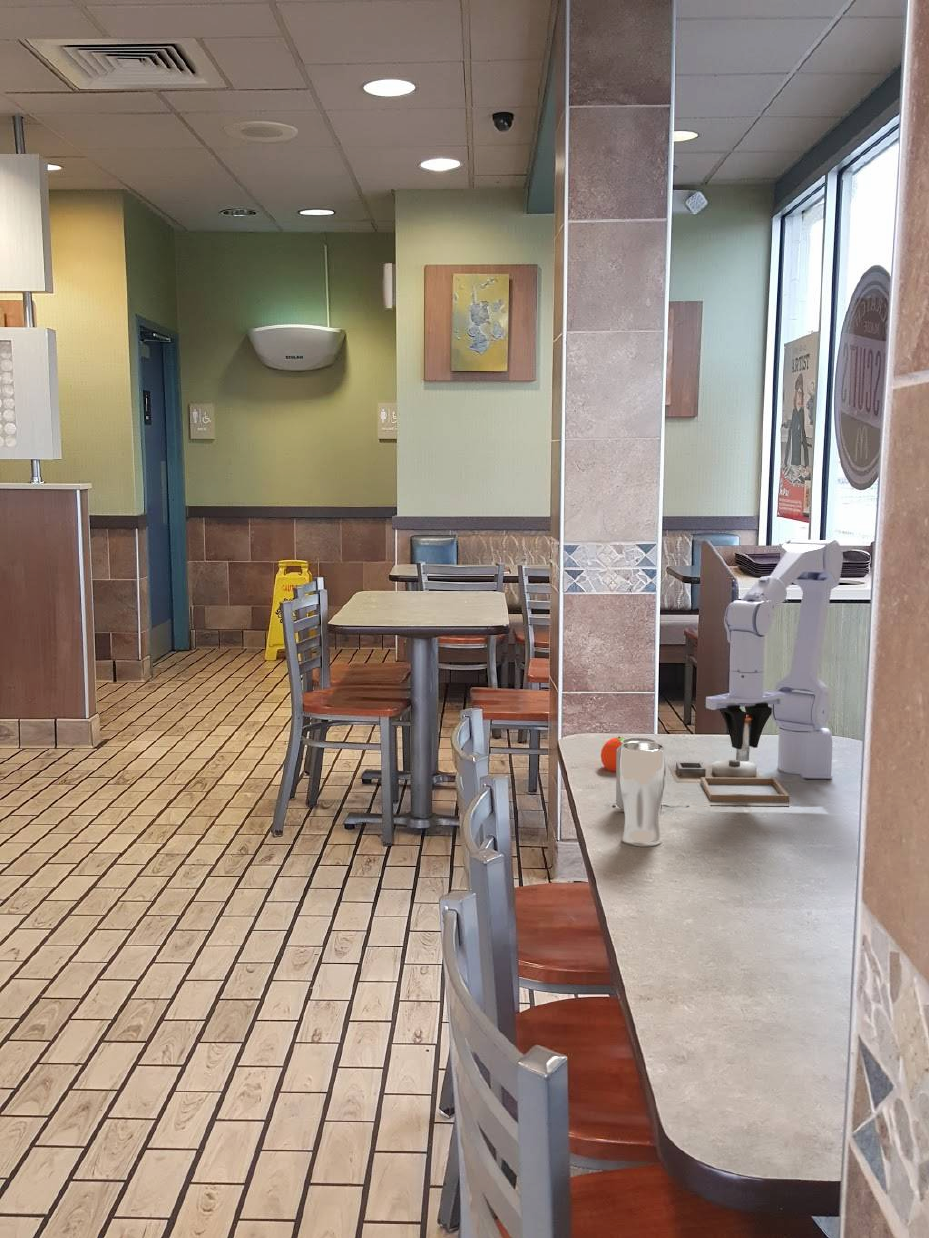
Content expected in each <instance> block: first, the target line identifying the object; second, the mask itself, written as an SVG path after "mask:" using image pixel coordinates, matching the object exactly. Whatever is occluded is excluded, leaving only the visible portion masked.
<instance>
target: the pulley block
mask: <svg viewBox="0 0 929 1238" xmlns="http://www.w3.org/2000/svg"><path fill="white" fill-rule="evenodd" d="M667 767H668V769H669V771H670V773H671V775H672V777H673V780H674V782H675V783H701V777H720V778H763V777H762V776H761V775H760V773H759V772H758V768H757V765H756V764H755V763H753V762H750V761H738V760H736V759H722V760H717V761H713V762H712V763H711V764H707V765H706V764H703V762H702V761H700V762H699V761H676V762H675V764H667Z"/></svg>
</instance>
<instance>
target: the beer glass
mask: <svg viewBox="0 0 929 1238" xmlns="http://www.w3.org/2000/svg"><path fill="white" fill-rule="evenodd" d="M665 785H666V754H665V745H664V744H662V743H659V742H658V743H656V742H650V741H631V742H626V743H623V744H622V745H621V757H620V786H621V793H622V799H623V805H624V811H625V813H624V824H623V825H624V826H623V831H622V835H621V840H622V842H623V843H625V844H626V845H629V846H633V847H641V848H643V847H645V848H646V847H655V846H657V845H658V846H659V845H660V844H661V843H662V840H663V839H662V835H661V834H662V832H661V826H660V825H661V824H660V815H661V808H662V803H663V802H662V801H663V797H664V791H665Z"/></svg>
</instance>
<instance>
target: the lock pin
mask: <svg viewBox="0 0 929 1238" xmlns="http://www.w3.org/2000/svg"><path fill="white" fill-rule="evenodd" d="M753 718H754V716H752V715H748V714H747V715H746V718H745V722H744V727H743V743H742V749H736V751H735V753H736V754H735V760H738V761H747V762H750V761H749V760H750V748H751V746H750V736H751V721H753Z"/></svg>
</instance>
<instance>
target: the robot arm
mask: <svg viewBox="0 0 929 1238" xmlns="http://www.w3.org/2000/svg"><path fill="white" fill-rule="evenodd" d="M779 556H780V557H779V559H780V560H779V562H778V563H777V564H776V566H775V567H774V569H773V571H772V572H771V573H770V575H765V576H761V577H759V578H758V580H757V581H756V582H755V583H754V585H753V586H752V587H751V588H750V589H749V590H748V591H747V593H745V595H744V596H743V597H742V598H741V599H740V600H739V599H738V600H733V602H730V603H729V604H728V606H727V607H726V610H725V612H724V613H725V614H724V617H723V625H724V628H725V630H726V639H727V643H729V644H730V645H729V684H728V692H727V693H723V694H718V695H713V696H711V695H710V696H706V697H705V708H706V709H708V710H712V711H714V710H715V711H716V710H717V709H719V712H720V714H721V716H722V718H723V720H724V722H725V724H726V728H727V730H728V734H729V738H730V743H731V747H732V748H733V749H736V750H737V749H742V743H743V727H744V722H745V718H746V715H747V714H748V715H752V716H754V718H753V721H751V736H750V748H753V749H756V748H758V746H759V741H760V739H761V735H762V733H763V730H764V728H765V726H766V724H767V722H768V720H769V718H770V717H771V720H772V721H773V722H775V727H778V744H777V745H778V749H777V751H778V752H777V769H778V770H780V771H781V772H785V773H788V774H796V775H797V774H798V775H799V776H801V777H802V779H818V780H819V779H824V780H825V779H828V780H829V779H830V780H831V779H833V775H832V771H833V770H832V769H833V768H832V767H833V736H832V732H831V730H830V729H829V727H824V726H826V725H827V723H828V722H829V718H830V714H831V704H830V698H831V691H830V689H829V688H828V685H826V684H825V683H824V682H823V680H821V679H820V678H819V677H818V674H819V668H820V662H821V655H822V649H823V643H824V637H825V631H826V625H827V618H828V612H829V606H830V601H831V599H830V598H831V594H832V593H831V592H832V590H833V589H835V588H837V587H839V585H840V580H841V574H842V569H843V563H844V555H843V550H842V547H841V545H840V543H839V541H837V540H835V539H829V540H823V539H822V540H819V539H795V538H791V537H790V538H788V539H786V540H785V542H784V543H783V545H782V546H781V548H780V555H779ZM792 584H794V585H796V586H797V587H799V588H800V589H801V591H802V596H801V600H800V601H801V602H800V608H799V613H798V614H799V616H798V619H797V620H798V621H797V626H796V627H797V628H796V633H795V638H794V639H795V640H794V643H793V644H794V646H793V652H792V657H791V664H790V669H789V673H788V674H786V675H785V676H784V677H782V678H781V679H779V680H777V681H776V682H775V685H774V689H773V690H774V691H764V676H765V675H764V674H765V673H764V672H765V640H766V639H765V638H766V637H765V636H766V635H767V634H768V633H769V632H770V630H771V628H772V623H773V620H774V619H775V612H776V611H777V610H779V607H780V606H781V605H782V604H783V603H784V601H786V599H787V595H788V592H787V589H788V587H790V585H792ZM798 691H800V692H798ZM807 692H808V693H807ZM741 707H743V708H744V710H745V711H743V710H742V708H741Z"/></svg>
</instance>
